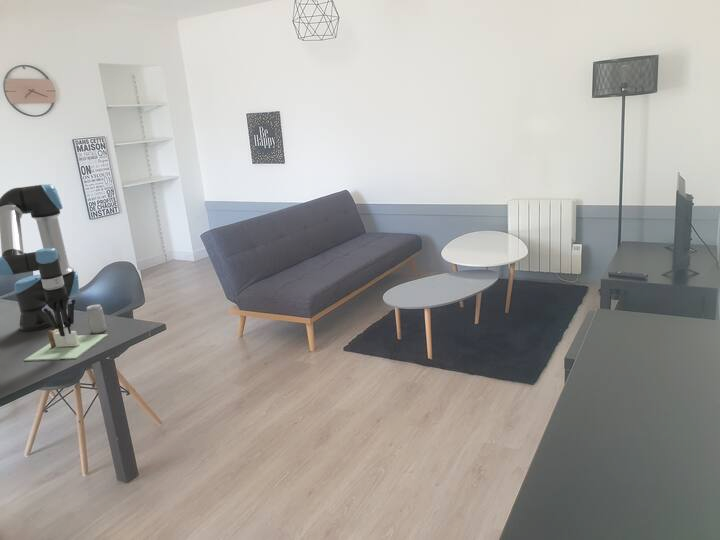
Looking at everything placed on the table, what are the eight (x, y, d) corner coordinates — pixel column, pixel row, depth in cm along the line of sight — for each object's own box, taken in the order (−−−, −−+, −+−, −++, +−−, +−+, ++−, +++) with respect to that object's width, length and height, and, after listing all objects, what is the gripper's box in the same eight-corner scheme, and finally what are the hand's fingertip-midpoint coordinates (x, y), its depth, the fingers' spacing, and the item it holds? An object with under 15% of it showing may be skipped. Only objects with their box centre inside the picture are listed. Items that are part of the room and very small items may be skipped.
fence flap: (55, 347, 230) (52, 334, 228) (58, 345, 232) (55, 332, 231) (77, 346, 230) (73, 332, 228) (79, 343, 232) (76, 330, 231)
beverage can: (90, 335, 243) (85, 309, 240) (91, 330, 249) (86, 305, 246) (106, 332, 245) (101, 306, 242) (107, 327, 251) (101, 302, 248)
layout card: (60, 337, 244) (60, 336, 244) (108, 335, 242) (107, 333, 241) (24, 361, 221) (23, 359, 221) (76, 359, 219) (76, 357, 218)
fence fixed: (67, 338, 243) (63, 320, 240) (72, 337, 242) (68, 320, 240) (50, 349, 231) (45, 331, 229) (55, 349, 230) (50, 331, 228)
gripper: (42, 293, 213) (56, 350, 219) (75, 283, 223) (87, 338, 229) (32, 291, 217) (46, 346, 223) (65, 281, 227) (78, 335, 234)
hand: (67, 342), depth 226 cm, fingers closed
